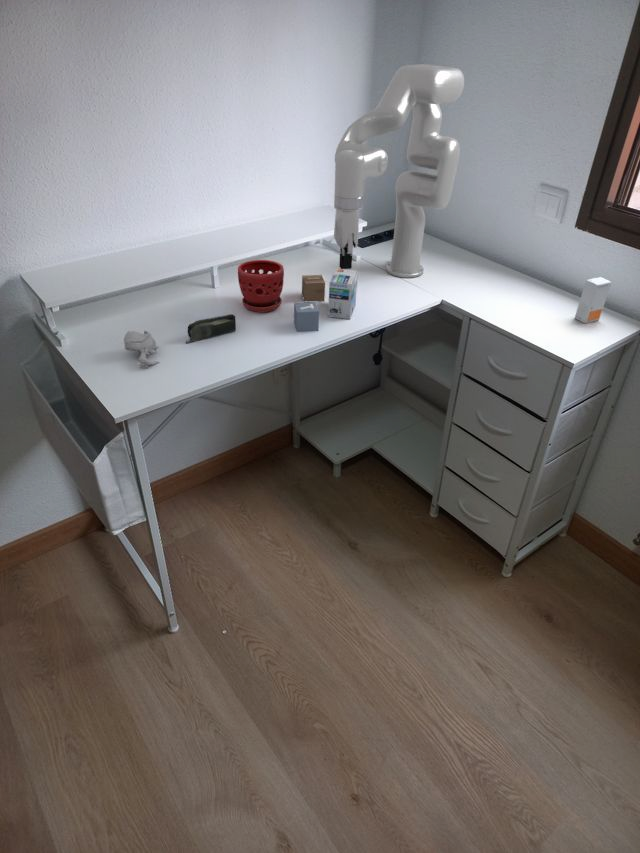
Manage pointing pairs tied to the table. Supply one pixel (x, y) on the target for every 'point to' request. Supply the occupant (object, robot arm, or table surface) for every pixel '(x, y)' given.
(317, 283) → the walnut digit block
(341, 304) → the light bulb box
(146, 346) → the toy character
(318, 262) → the table surface
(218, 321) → the dark green pouch
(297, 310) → the slate digit block
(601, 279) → the skincare box
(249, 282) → the plant pot
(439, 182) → the robot arm
